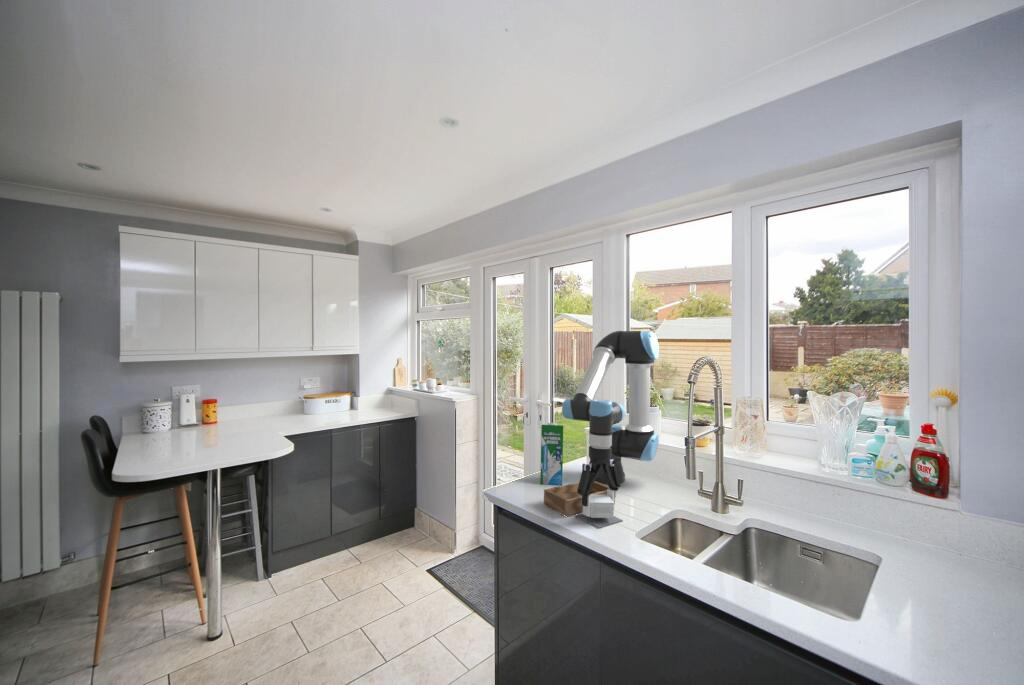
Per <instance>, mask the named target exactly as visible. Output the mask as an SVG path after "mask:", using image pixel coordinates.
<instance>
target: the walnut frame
mask: <svg viewBox="0 0 1024 685" xmlns="http://www.w3.org/2000/svg"><path fill="white" fill-rule="evenodd" d="M579 482H580V481H577V482H573V483H568V484H562V485H557V486H555V487H554V486H553V487H550V488H545V489H543V506H545V505H546V506H545V507H547V506H548V507H547V508H549V509H550V510H553V511H554V510H555V512H556V511H557V513H558V512H559V513H558V514H560V513H561V514H560V515H562V514H563V515H562V516H564V515H565V516H567V517H566V518H568V516H570V517H572V515H573V516H576V514H577V515H578V514H582V513H583V505H582V495H580V494H578V493H577V490H578V486H579ZM607 489H610V488H609V486H608V485H605V484H604V483H600V482H596V481H595V482H594V484H593V487H592V489H591V491H590V494H592V495H607ZM614 505H616V498H615V499H614ZM565 516H564V517H565Z"/></svg>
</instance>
